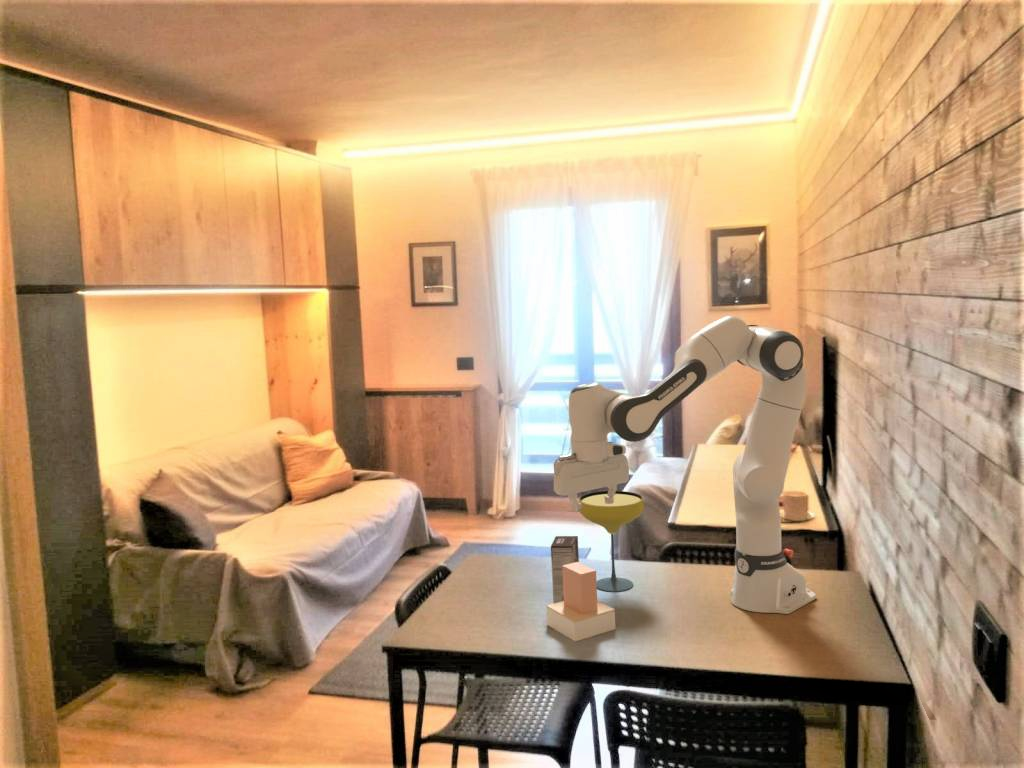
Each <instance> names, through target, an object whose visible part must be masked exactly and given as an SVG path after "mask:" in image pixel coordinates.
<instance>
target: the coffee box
mask: <svg viewBox="0 0 1024 768" xmlns="http://www.w3.org/2000/svg"><path fill="white" fill-rule="evenodd" d="M550 555H551V574H552V575H551V578H552V579H551V581H552V598H553V604H554V603H558V602H561V601H564V596H563V572H562V565H567V564H571V563H575V562H579V563H580V556H579V536H578V535H556V536H554V539H553V540H552V543H551V545H550Z"/></svg>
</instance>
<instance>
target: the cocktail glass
mask: <svg viewBox="0 0 1024 768" xmlns="http://www.w3.org/2000/svg"><path fill="white" fill-rule="evenodd" d="M608 491H609V490H607V491H606V490H603V491H594V492H590V493H586V494H583V495H582V496H580V497H579V499H578V503H581V504H582V510H581V511H579V514H580V515H581V516H582V517H583V518H585V519H586V520H587V521H590V522H592V523H593V524H597V525H599V526H601V527H603V528H604V529H605V530H606V532H607V533H608V534H610V538H611V539H610V541H611V544H610V545H611V577H604V578H600V579H598V580H596V582H597V590H599V591H604V592H610V593H618V592H619V593H621V592H625V591H629V590H630V589H632V588H633V587H634V582H632V581H631V579H628V578H624V577H617V574H616V568H615V566H616V565H615V564H616V563H615V547H614V546H615V545H614V535H615V534H616V533H617V532H618V530H620V528H621V527H622V526H624V525H626V524H628V523H631V522H633V521H634V520H636V519H637V518H639V517H640V516H641V515H642V514H643V512H644V509H645V502H644V498H643V497H642V495H640V494H639V493H635V492H632V491H631V492H629V491H623V490H621V491H620V490H616V492H615V495H614V503H611V504H606V503H605V497H604V496H607V494H608Z"/></svg>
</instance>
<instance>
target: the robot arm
mask: <svg viewBox="0 0 1024 768" xmlns="http://www.w3.org/2000/svg"><path fill="white" fill-rule="evenodd" d="M804 356H805V354H804V346H803V344H802V342H801V340H800V339H799V338H798V337H797V336H795V335H794V334H793V333H791V332H789V331H785V330H782V329H778V328H775V327H773V326H772V327H771V326H760V325H757V324H749V325H748V324H747V323H746V321H744V320H743V319H742V318H740V317H739V316H736V315H726V316H724V317H722V318H720V319H717V320H716V321H713V322H712V323H710V324H708V325H707V326H705V327H703V328H702V329H700V330H699V331H697V332H696V333H694V334H693V335H692V336H691V337H689V338H688V339H686V340H685V341H684V342H683V343H682V344H681V345H680V347H678V348H677V350H676V351H675V355H674V360H673V361H674V367H673V370H672V371H671V372H670V374H668V376H666V377H664V379H663V380H661V381H660V382H658V383H657V384H656V385H655V386H653V387H652V388H651V389H649V391H647V392H646V393H644V394H641V395H637V396H633V395H631V394H627V393H623V392H619V391H616V390H613V389H611V388H608V387H606V386H604V385H603V384H601V383H600V382H597V381H596V382H595V381H594V382H593V381H592V382H587V383H583V384H579V385H577V386H576V387H575V386H574V388H572V389H571V391H570V394H569V398H568V421H569V425H570V428H571V434H570V446H571V447H570V449H571V454H567V455H560V456H558V458H557V459H556V460H555V461H554V462H553V471H554V472H553V492H555V493H556V495H559V496H561V497H562V496H563V497H566V496H567V498H568V499H569V501H570V502H571V504H572V510H573V511H574V512H580V511H581V510H582V504H581V503H579V501H578V499H577V498H578V494H579V493H584V492H589V491H593V490H597V489H601V488H602V489H603V488H607V489H608V490H607V491H608V494H607V496H604V497H605V503H606V504H611V503H614V495H615V492H616V491H618V485H620V484H624V483H627V482H628V480H629V478H630V467H629V462H628V458H627V456H626V455H625V454H626V452H627V450H626V449H627V448H626V446H625V445H624V444H619V443H614V442H612V441H609V440H608V434H610V433H615V434H616V435H617V436H619V437H620V438H621V439H622V440H624V441H626V442H627V441H628V442H632V443H635V442H636V443H637V442H641V441H643V440H645V439H647V438H649V437H650V435H651V434H652V433H653V432H654V431H655V429H656V428H657V425H658V424H659V423H660V421H661V419H662V418H663V417H664V416H665V415H666V414H667V413H668V412H670V411H671V410H672V409H673V408H674V407H676V406H677V405H678V404H680V403H681V402H682V401H683V400H684V399H685V398H687V397H688V396H689V395H691V393H693V392H695V390H696V389H697V388H698V387H700V386H702V385H703V384H705V383H706V382H708V381H709V380H711V379H712V378H713V377H715V376H716V375H717V376H718V375H719V374H720V373H721V372H723V371H724V370H725V369H726V368H728V367H729V366H731V364H733V363H735V362H737V363H740V365H742V366H746V367H747V368H750V369H752V370H755V371H756V372H757V371H758V372H761V373H760V374H761V378H762V380H761V386H760V389H759V392H758V394H757V397H756V401H755V404H754V408H753V411H752V414H751V418H750V422H749V424H748V430H747V438H746V441H745V447H744V451H743V452H742V453H740V454H739V455H738V456H737V457H736V458H735V461H734V463H733V466H732V477H733V478H732V482H733V496H734V498H733V499H734V510H735V511H734V513H735V527H736V529H735V533H736V534H735V535H736V536H735V537H736V547H734V562H735V566H734V575H733V586H732V588H731V589H730V594H731V598H730V601H731V604H733V605H734V606H735V607H737V608H739V609H741V610H744V611H749V612H755V613H767V614H769V613H770V614H771V613H775V614H783V615H789V614H792V613H793V612H795V611H796V610H798V609H800V608H801V607H804V606H805V605H806V604H807V605H808V603H810V602H812V601H814V600H816V599H817V594H816V593H815V592H814V591H812V590H811V589H808V588H807V584H806V583H807V582H806V578H805V576H804V575H803V573H802V571H800V570H798V569H797V568H795V567H794V566H793V565H792V564H790V563H789V562H787V561H788V560H787V558H789V559H790V558H793V556H794V550H793V549H788V548H784V549H782V519H781V513H780V503H779V498H780V497H781V495H782V493H783V491H784V487H785V481H786V477H787V473H788V469H789V468H788V467H789V463H790V458H791V457H790V456H791V452H792V446H793V441H794V436H795V434H796V432H797V431H796V430H797V427H798V424H799V420H800V417H801V415H802V414H801V413H802V411H803V407H804V403H805V399H806V394H807V388H808V379H809V375H808V374H809V373H808V371H807V369H806V368H805V367H804ZM786 557H787V558H786Z"/></svg>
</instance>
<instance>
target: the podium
mask: <svg viewBox="0 0 1024 768" xmlns="http://www.w3.org/2000/svg"><path fill="white" fill-rule="evenodd" d="M597 609H598V610H597V611H594V612H590V613H587V614H583V615H582V614H580V613H578V612H577V611H575V610H573V609H571V608H569V607H568V606H566V605H564V601H561V602H558V603H554V602H553V603H551V604H548V605H546V618H547V619H546V621H547V626H549V627H550V628H552V629H553V630H555V631H557V632H559V633H560V634H562V635H563V636H565V637H567V638H569V640H571V641H573V642H578V641H581V640H585V639H588V638H591V637H594V636H597V635H602V634H604V633H607V632H611V631H614V630H616V613H615V612H616V610H615V608H613V607H611V606H609V605H607V604H606V603H603V602H601V601H599V600H597Z"/></svg>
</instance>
